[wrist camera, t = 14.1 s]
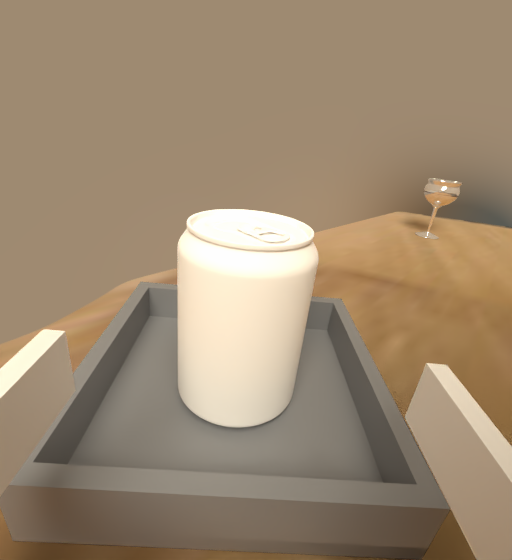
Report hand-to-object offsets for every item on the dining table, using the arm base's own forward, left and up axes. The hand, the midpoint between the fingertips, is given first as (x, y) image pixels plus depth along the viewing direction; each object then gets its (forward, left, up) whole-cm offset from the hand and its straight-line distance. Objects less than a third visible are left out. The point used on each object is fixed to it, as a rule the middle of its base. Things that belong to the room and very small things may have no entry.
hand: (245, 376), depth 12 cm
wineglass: (-41, -61, -10) cm, 74 cm away
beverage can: (0, -8, -9) cm, 12 cm away
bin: (0, -8, -10) cm, 13 cm away
